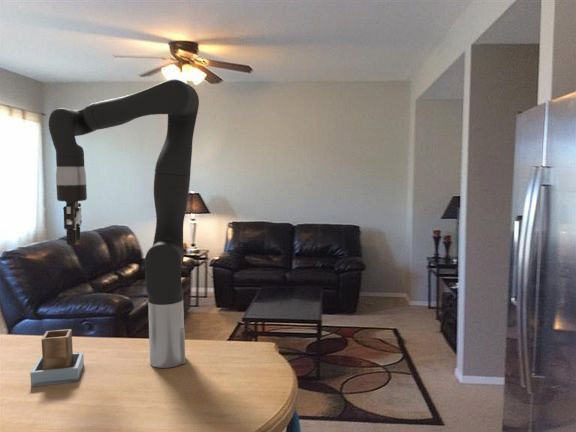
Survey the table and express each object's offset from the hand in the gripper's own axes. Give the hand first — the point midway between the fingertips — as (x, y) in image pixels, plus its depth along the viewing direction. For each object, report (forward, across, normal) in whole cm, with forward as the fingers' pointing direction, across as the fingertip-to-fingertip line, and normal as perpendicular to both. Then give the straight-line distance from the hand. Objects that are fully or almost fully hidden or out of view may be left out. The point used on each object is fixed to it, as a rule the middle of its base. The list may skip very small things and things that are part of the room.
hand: (74, 241), depth 136 cm
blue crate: (+32, -14, +3) cm, 35 cm away
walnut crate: (+31, -14, +3) cm, 34 cm away
